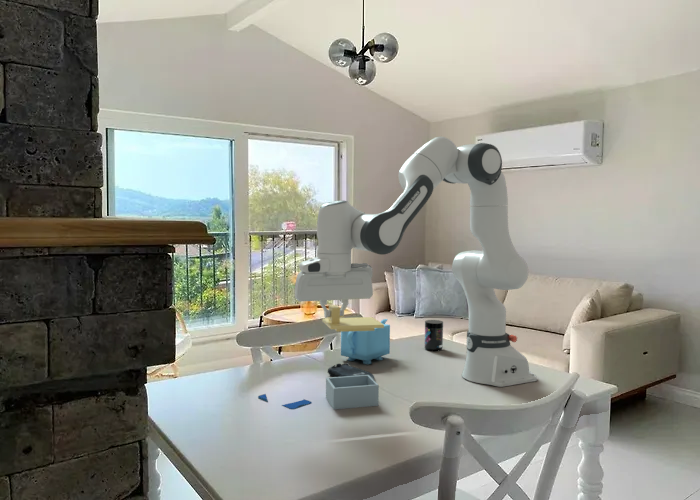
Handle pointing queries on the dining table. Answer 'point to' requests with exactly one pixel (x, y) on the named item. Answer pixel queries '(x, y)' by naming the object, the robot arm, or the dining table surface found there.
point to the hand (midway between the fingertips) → (334, 316)
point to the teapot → (366, 344)
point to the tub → (352, 392)
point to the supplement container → (433, 335)
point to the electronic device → (347, 371)
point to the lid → (350, 322)
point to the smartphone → (290, 405)
